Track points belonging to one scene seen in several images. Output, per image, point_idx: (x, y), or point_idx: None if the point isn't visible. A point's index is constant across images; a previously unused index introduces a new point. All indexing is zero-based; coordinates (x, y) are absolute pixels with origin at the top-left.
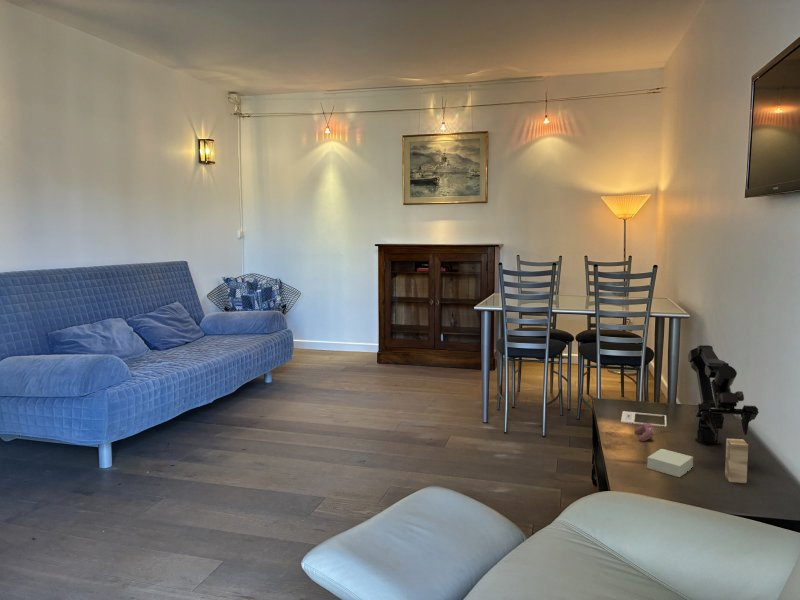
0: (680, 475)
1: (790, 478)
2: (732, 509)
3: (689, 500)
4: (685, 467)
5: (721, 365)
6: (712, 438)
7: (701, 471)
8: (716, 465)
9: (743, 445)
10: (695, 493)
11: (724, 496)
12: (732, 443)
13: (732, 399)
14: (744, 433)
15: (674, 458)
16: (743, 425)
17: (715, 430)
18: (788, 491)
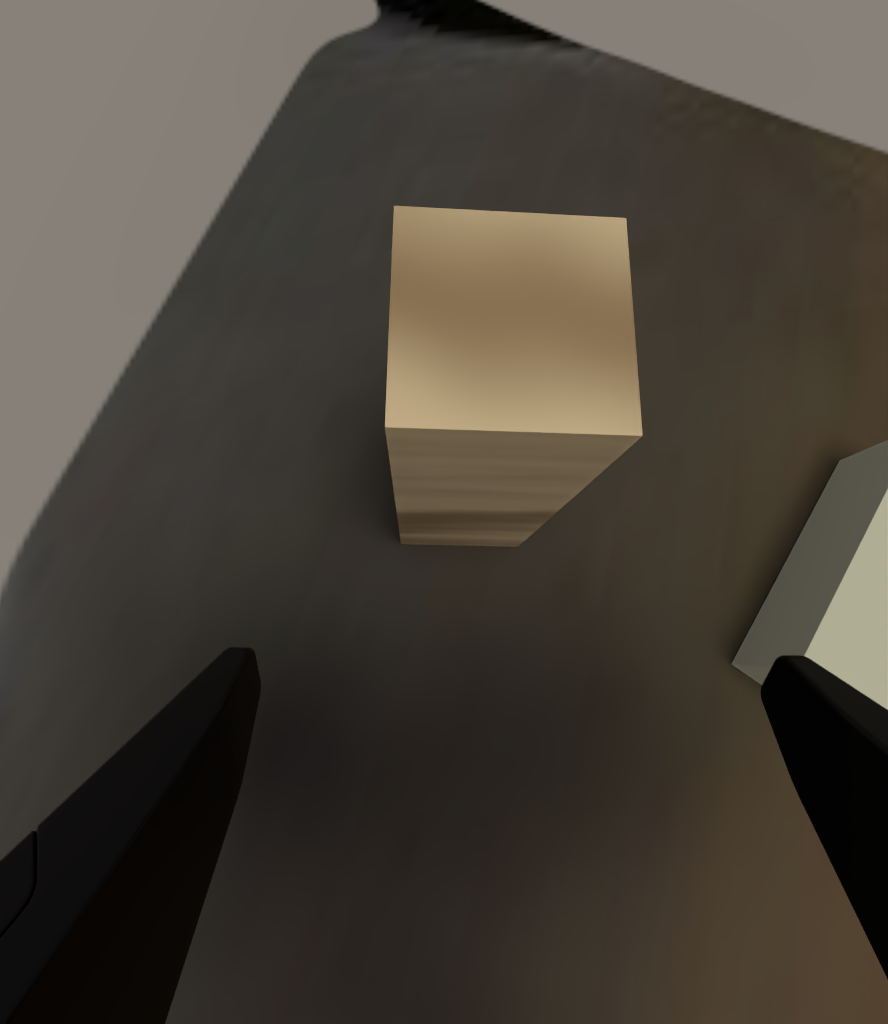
0: (841, 468)
1: (29, 568)
2: (598, 93)
3: (803, 161)
4: (830, 534)
5: None
6: None
7: (674, 599)
8: (530, 757)
9: (458, 217)
10: (761, 245)
11: None
12: (602, 239)
13: None
14: (250, 708)
15: None
16: (150, 945)
17: (826, 681)
18: (173, 340)
